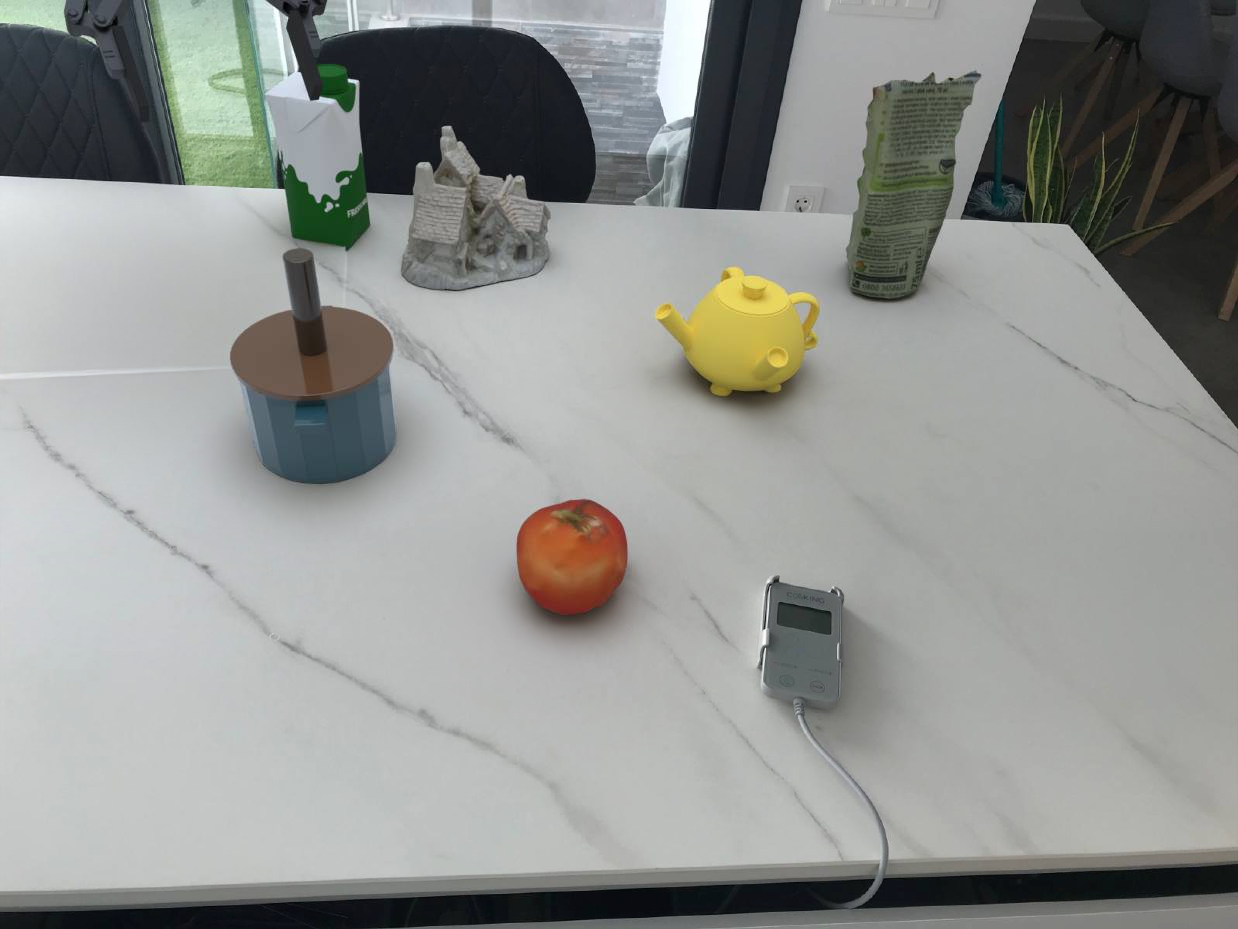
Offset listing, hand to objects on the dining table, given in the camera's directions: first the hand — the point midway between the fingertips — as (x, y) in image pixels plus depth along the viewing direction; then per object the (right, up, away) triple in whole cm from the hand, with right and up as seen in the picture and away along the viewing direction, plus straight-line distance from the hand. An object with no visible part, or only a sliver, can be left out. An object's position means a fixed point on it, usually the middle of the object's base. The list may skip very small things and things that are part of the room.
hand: (234, 104), depth 79 cm
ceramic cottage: (+14, -5, +38) cm, 41 cm away
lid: (+5, -20, +6) cm, 21 cm away
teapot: (+43, -20, +24) cm, 53 cm away
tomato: (+27, -39, 0) cm, 48 cm away
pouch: (+63, -6, +42) cm, 76 cm away
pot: (+4, -27, +12) cm, 30 cm away
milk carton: (-4, -1, +41) cm, 41 cm away
